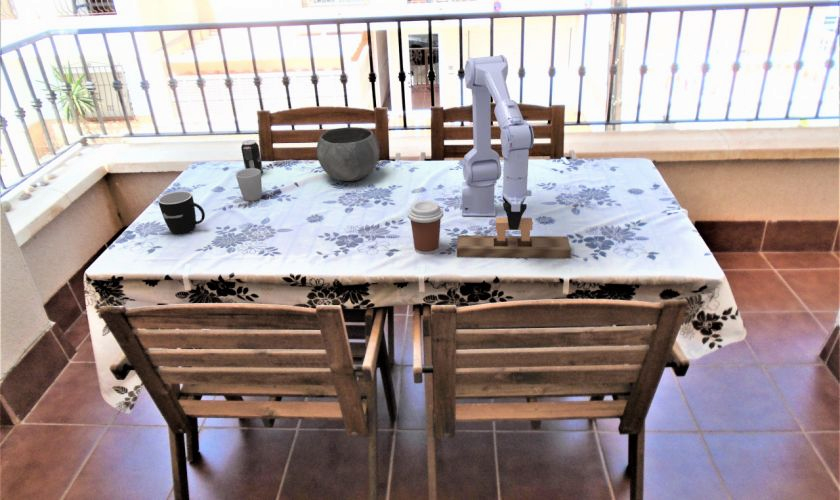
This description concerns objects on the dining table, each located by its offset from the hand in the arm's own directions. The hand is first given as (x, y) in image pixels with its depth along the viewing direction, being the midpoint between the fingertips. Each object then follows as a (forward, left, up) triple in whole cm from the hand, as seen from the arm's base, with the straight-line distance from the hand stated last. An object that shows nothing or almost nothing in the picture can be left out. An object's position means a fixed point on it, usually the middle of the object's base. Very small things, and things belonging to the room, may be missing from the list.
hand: (513, 225), depth 149 cm
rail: (0, 0, -7) cm, 7 cm away
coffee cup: (-22, +1, -7) cm, 23 cm away
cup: (-80, +34, -7) cm, 87 cm away
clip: (0, 0, -3) cm, 3 cm away
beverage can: (-86, +52, -7) cm, 101 cm away
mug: (-91, +10, -7) cm, 92 cm away
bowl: (-52, +50, -7) cm, 73 cm away
